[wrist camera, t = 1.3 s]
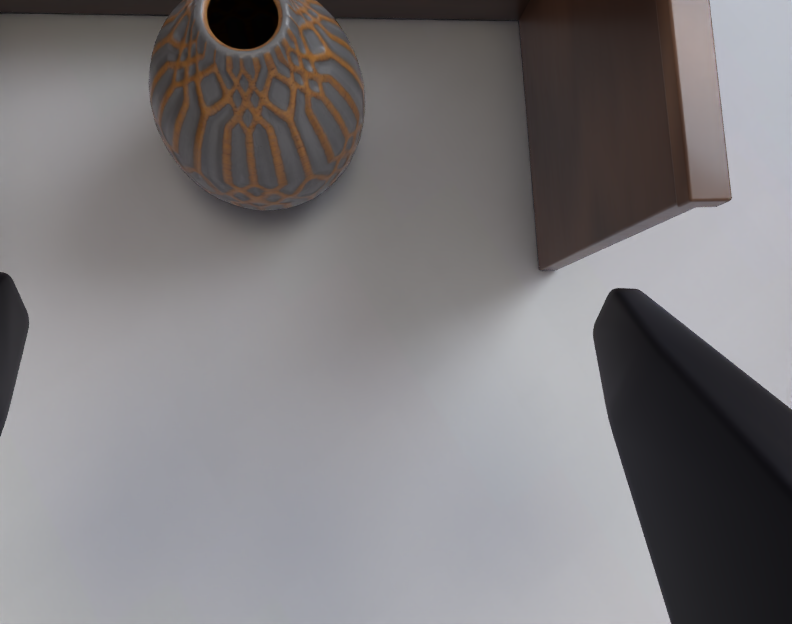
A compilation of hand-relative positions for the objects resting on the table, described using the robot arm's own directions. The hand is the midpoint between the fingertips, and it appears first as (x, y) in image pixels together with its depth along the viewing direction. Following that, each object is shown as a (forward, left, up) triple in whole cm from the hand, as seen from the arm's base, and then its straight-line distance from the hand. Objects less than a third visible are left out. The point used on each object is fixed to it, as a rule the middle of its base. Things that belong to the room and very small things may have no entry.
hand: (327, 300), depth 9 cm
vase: (+6, +6, -15) cm, 17 cm away
